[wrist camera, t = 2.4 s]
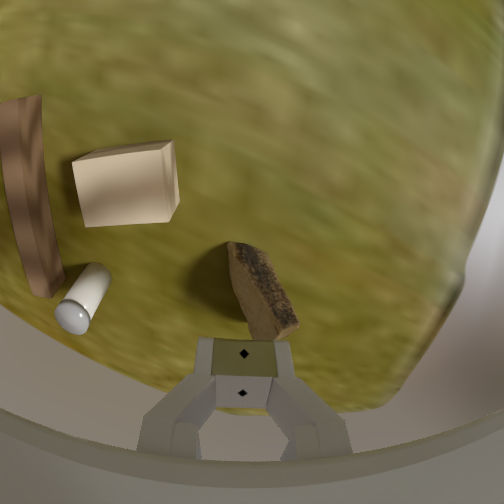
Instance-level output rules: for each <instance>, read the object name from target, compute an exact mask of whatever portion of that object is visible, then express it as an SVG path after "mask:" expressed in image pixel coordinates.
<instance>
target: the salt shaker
mask: <svg viewBox="0 0 504 504" xmlns="http://www.w3.org/2000/svg"><path fill="white" fill-rule="evenodd" d="M111 281H112V277H111V274H110V272H109V270H108V269H107V268H106V267H105V266H104V265H102V264H100V263H96V262H93V263H89V264H88V265H87V266H86V267H85V269H84V270H83V272H82V273H81V274H80V276H79V277H78V279H77V280H76V281H75V283H74V284H73V286H72V287H71V289H70V290H69V292H68V293H67V295H66V296H65V298H64V299H63V300H62V301H61V302H60V303H59V305H58V306H57V308H56V310H55V317H56V320H57V322H58V323H59V324H60V325H61V326H62V327H63V328H64V329H65V330H66V331H68V332H70V333H73V334H77V335H81V334H84V333H85V332H86V330H87V329H88V327H89V325H90V322H91V319H92V317H93V315H94V313H95V311H96V309H97V307H98V305H99V304H100V302H101V300H102V298H103V296H104V294H105V293H106V291H107V289H108V287H109V285H110V284H111Z"/></svg>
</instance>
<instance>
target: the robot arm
mask: <svg viewBox="0 0 504 504" xmlns="http://www.w3.org/2000/svg"><path fill="white" fill-rule="evenodd" d="M216 407H241V408H266V411H267V412H268V413H269V415H270V416H271V417H272V418H273V420H274V421H275V423H276V424H277V425H278V427H279V428H280V429H281V431H282V432H283V433H284V434H285V436H286V437H287V438H288V440H289V442H288V444H287V446H286V448H285V450H284V452H283V454H282V456H281V458H280V459H281V461H267V462H239V461H215V460H202V459H201V458H202V456H201V448H200V441H199V433H198V431H199V429H200V428H201V427H202V426H203V424H204V423H205V422H206V421H207V419H208V418H209V417H210V415H211V414H212V413H213V411H214V410H215V409H216ZM0 504H504V409H502V410H499V411H497V412H495V413H493V414H490V415H488V416H486V417H483V418H481V419H478V420H476V421H473V422H471V423H468V424H466V425H463V426H460V427H457V428H454V429H452V430H448V431H445V432H442V433H440V434H436V435H433V436H429V437H426V438H423V439H419V440H415V441H412V442H408V443H404V444H400V445H396V446H391V447H387V448H382V449H377V450H372V451H366V452H361V453H355V454H353V452H352V448H351V443H350V439H349V435H348V431H347V427H346V423H345V420H343V419H342V418H341V417H340V416H339V415H338V414H337V413H336V412H335V411H334V410H333V409H332V408H331V407H330V406H329V405H327V404H326V403H325V402H324V401H323V400H322V399H321V398H320V397H319V396H318V395H317V394H316V393H315V392H314V391H313V390H312V389H311V388H310V387H309V386H308V385H307V384H306V383H305V382H304V381H303V380H302V379H301V378H300V377H295V374H294V368H293V362H292V356H291V351H290V345H289V342H288V341H287V340H273V341H272V340H237V339H224V338H209V337H199V339H198V343H197V350H196V357H195V365H194V372H193V374H188V375H187V376H186V377H185V378H184V379H183V380H182V381H181V382H180V383H179V384H178V385H176V386H175V387H174V388H173V389H172V390H171V391H170V392H169V393H168V394H167V395H166V396H165V397H164V398H163V399H162V400H161V401H159V402H158V403H157V404H156V405H155V406H154V407H153V408H152V409H151V410H150V411H149V412H147V413H146V414H145V415H144V417H143V422H142V427H141V431H140V436H139V441H138V445H137V450H136V451H134V450H129V449H124V448H119V447H115V446H110V445H106V444H102V443H98V442H94V441H90V440H87V439H83V438H80V437H76V436H73V435H70V434H66V433H63V432H60V431H57V430H54V429H51V428H48V427H46V426H43V425H40V424H38V423H35V422H32V421H30V420H27V419H25V418H22V417H20V416H18V415H15V414H13V413H11V412H8V411H6V410H4V409H2V408H0Z"/></svg>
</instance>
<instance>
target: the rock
mask: <svg viewBox="0 0 504 504" xmlns="http://www.w3.org/2000/svg"><path fill="white" fill-rule="evenodd" d="M226 247H227V249H228V252H229V276H230V279H231V282H232V287H233V291H234V293H235V295H236V296H237V298H238V300H239V303H240V307H241V309H242V311H243V313H244V315H245V317H246V319H247V322H248V327H249V331H250V334H251V336H252V338H253V340H272V341H273V340H279V339H281V338H284V337H287V336H288V335H289V334H290V333H292V332H294V331H295V330H297V329H298V328H299V324H300V322H299V319H298V317H297V315H296V313H295V311H294V308H293V306H292V304H291V301H290V299H289V298H288V296H287V294H286V292H285V290H284V289H283V287H282V284H281V283H280V282H279V280H278V276H277V274H276V272H275V270H274V266H273V264H272V262H271V260H270V258H269V256H268V254H267V253H265V252H263V251H261V250H259V249H257V248H254V247H252V246H250V245H247V244H243V243H232V242H228V243H227V245H226Z"/></svg>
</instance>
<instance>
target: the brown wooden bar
mask: <svg viewBox="0 0 504 504" xmlns="http://www.w3.org/2000/svg"><path fill="white" fill-rule="evenodd" d="M0 152H1V161H2V169H3V177H4V184H5V190H6V196H7V201H8V206H9V211H10V216H11V221H12V225H13V229H14V234H15V238H16V241H17V245H18V249H19V252H20V256H21V259H22V263H23V266H24V269H25V273H26V276H27V279H28V282H29V285H30V288H31V290H32V293H33V295H34V296H40V297H46V298H52V297H53V296H54V294H55V293H56V292H57V290H58V289H59V287H60V286H61V285H62V283H63V282H64V281H65V279H66V278H65V274H64V270H63V266H62V263H61V258H60V254H59V250H58V246H57V241H56V236H55V231H54V226H53V221H52V216H51V210H50V204H49V197H48V190H47V183H46V175H45V165H44V155H43V141H42V118H41V95H36V96H30V97H23V98H18V99H14V100H10V101H7V102H4V103H0Z"/></svg>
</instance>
